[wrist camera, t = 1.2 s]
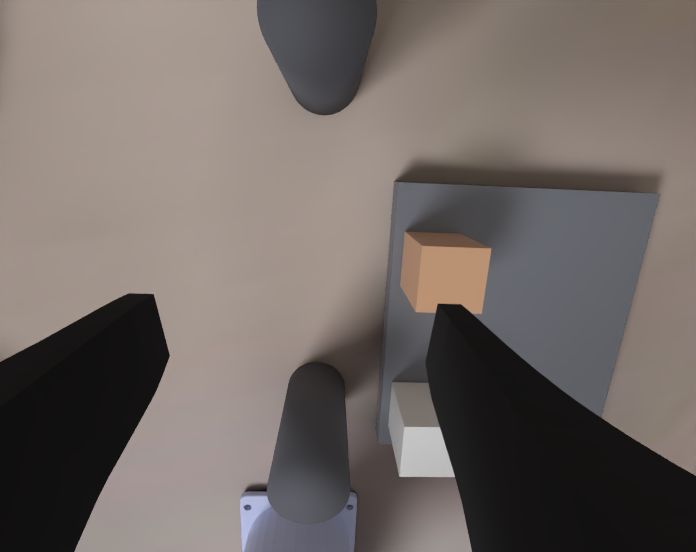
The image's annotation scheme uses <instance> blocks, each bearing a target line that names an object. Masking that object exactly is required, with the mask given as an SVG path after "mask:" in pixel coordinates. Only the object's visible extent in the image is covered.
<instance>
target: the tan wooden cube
mask: <svg viewBox="0 0 696 552" xmlns="http://www.w3.org/2000/svg"><path fill="white" fill-rule="evenodd" d="M491 249H492V248H489V247H487V246H485V245H483V244H481V243H479V242H477V241H475V240H473V239H471V238H469V237H467V236H464V235H462V234H458V233H431V232H405V234H404V245H403V257H402V269H401V281H400V286H401V288H402V290H403V292H404V293H405V295H406V297H407V298H408V300H409V302H410V303H411V305H412V307H413V308H414V310H415V312H426V313H436V309H437V305H438V304H461V305H463V306H464V307H465V308H466V309H467V310H469V311H470V312H471V313H472V314H482V309H483V302H484V295H485V289H486V282H487V275H488V269H489V262H490V256H491Z"/></svg>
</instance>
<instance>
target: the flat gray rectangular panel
mask: <svg viewBox="0 0 696 552" xmlns="http://www.w3.org/2000/svg"><path fill="white" fill-rule="evenodd" d="M659 196H660V194H655V193H639V192H617V191H595V190H572V189H550V188H527V187H505V186H482V185H460V184H437V183H415V182H394V190H393V203H392V217H391V230H390V243H389V257H388V270H387V284H386V297H385V310H384V324H383V337H382V350H381V364H380V377H379V390H378V404H377V417H376V434H377V440H378V444H385V445H392V441H391V436H390V431H389V427H388V421H389V410H390V398H391V386H392V382H412V383H428V377H427V371H426V364H425V361H426V356H427V352H428V347H429V342H430V338H431V333H432V328H433V323H434V319H435V314H436V313H426V312H415V310H414V308H413V307H412V305H411V303H410V302H409V300H408V298H407V297H406V295H405V293H404V292H403V290H402V288H401V286H400V281H401V269H402V257H403V245H404V234H405V232H431V233H458V234H462V235H464V236H467V237H469V238H471V239H473V240H475V241H477V242H479V243H481V244H483V245H485V246H487V247H489V248H492V249H491V256H490V262H489V269H488V275H487V282H486V289H485V295H484V302H483V309H482V314H473V315H474V316H475V317H476V318H478V319H479V320H480V321H481V322H482V323H483V324H484V325H485V326H486V327H487V328H489V329H490V330H491V331H492V332H493V333H494V334H495V335H496V336H497V337H498V338H500V339H501V340H502V341H503V342H504V343H505V344H506V345H507V346H509V347H510V348H511V349H512V350H513V351H514V352H516V353H517V354H518V355H519V356H520V357H521V358H523V359H524V360H525V361H526V362H527V363H529V364H530V365H531V366H532V367H533V368H535V369H536V370H537V371H538V372H540V373H541V374H542V375H543V376H545V377H546V378H547V379H548V380H550V381H551V382H552V383H554V384H555V385H556V386H557V387H559V388H560V389H561V390H563V391H564V392H565V393H567V394H568V395H569V396H571V397H572V398H573V399H575V400H576V401H577V402H579V403H580V404H582V405H583V406H585V407H586V408H588V409H589V410H590V411H592V412H593V413H595V414H596V415H598V416H599V417H601V415H602V411H603V408H604V404H605V400H606V396H607V392H608V389H609V385H610V381H611V377H612V374H613V370H614V366H615V362H616V359H617V355H618V351H619V347H620V343H621V340H622V336H623V332H624V328H625V325H626V321H627V317H628V313H629V309H630V306H631V302H632V298H633V294H634V291H635V287H636V283H637V279H638V276H639V272H640V268H641V264H642V260H643V257H644V253H645V249H646V245H647V242H648V238H649V234H650V230H651V227H652V223H653V219H654V215H655V211H656V208H657V204H658V200H659Z"/></svg>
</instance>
